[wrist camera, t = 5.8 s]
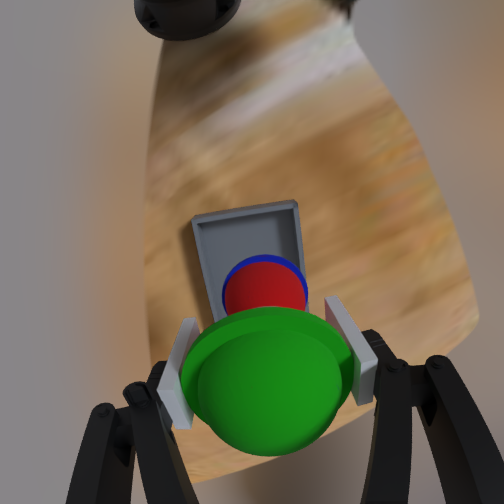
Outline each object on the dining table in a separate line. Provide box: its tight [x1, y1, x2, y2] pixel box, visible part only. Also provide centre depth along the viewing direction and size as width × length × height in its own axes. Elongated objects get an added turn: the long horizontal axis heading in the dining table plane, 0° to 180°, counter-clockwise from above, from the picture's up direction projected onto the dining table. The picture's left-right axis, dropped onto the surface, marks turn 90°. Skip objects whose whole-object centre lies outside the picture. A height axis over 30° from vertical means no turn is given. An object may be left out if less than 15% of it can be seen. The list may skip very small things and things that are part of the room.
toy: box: [181, 254, 354, 457], centre depth 16 cm, size 8×8×15 cm
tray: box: [191, 199, 309, 323], centre depth 39 cm, size 19×13×3 cm
